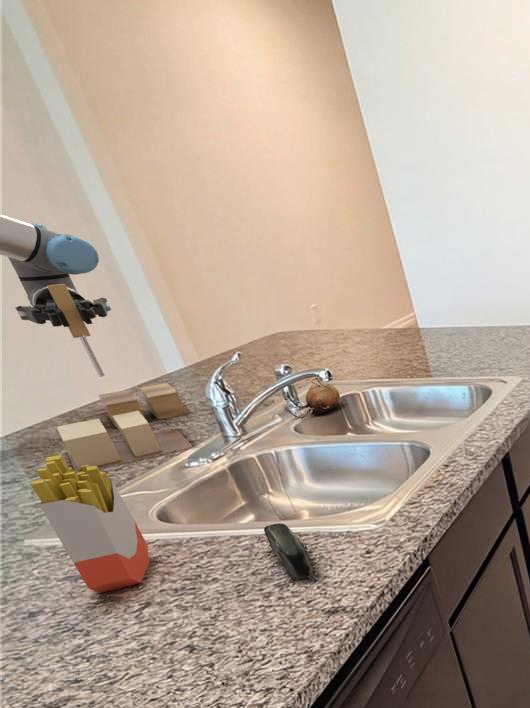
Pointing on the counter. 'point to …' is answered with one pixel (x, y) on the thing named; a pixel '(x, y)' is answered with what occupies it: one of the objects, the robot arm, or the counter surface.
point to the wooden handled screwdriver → (73, 320)
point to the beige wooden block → (137, 433)
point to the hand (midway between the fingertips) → (75, 318)
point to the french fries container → (92, 525)
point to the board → (167, 444)
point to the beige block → (88, 443)
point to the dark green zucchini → (290, 551)
